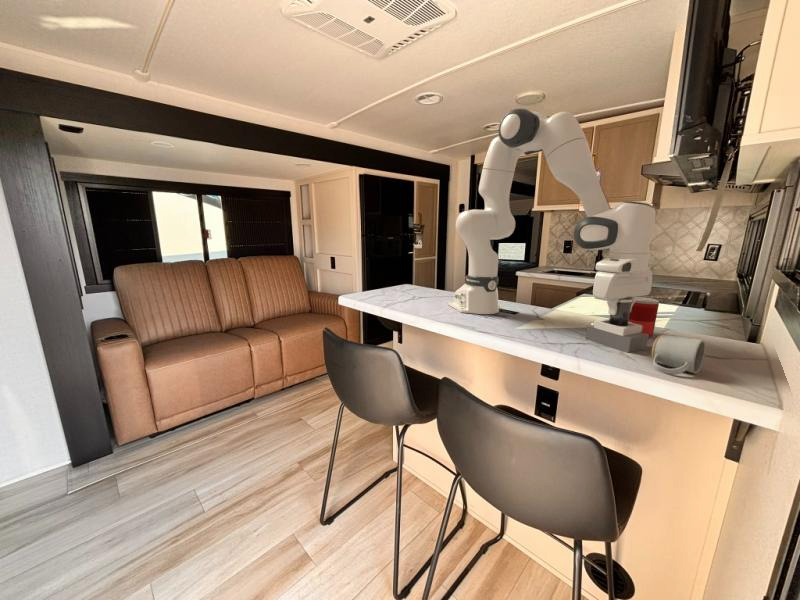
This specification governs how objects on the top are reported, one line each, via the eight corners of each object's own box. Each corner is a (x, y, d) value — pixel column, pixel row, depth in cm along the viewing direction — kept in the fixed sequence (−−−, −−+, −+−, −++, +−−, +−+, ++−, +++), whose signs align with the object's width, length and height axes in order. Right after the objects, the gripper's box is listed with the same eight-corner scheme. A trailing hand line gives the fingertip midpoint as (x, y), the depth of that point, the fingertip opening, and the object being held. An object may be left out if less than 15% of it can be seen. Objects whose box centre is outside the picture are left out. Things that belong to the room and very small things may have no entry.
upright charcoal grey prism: (604, 322, 88) (609, 295, 87) (615, 320, 90) (619, 294, 89) (621, 327, 84) (626, 298, 83) (632, 325, 86) (636, 297, 85)
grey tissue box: (585, 338, 93) (588, 319, 91) (602, 335, 96) (605, 316, 94) (628, 352, 82) (632, 330, 81) (646, 348, 85) (650, 327, 84)
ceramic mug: (658, 357, 79) (664, 328, 77) (702, 369, 72) (709, 337, 71) (642, 368, 73) (647, 337, 71) (688, 381, 66) (695, 348, 65)
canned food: (659, 337, 94) (666, 302, 92) (633, 337, 94) (639, 301, 92) (640, 329, 102) (645, 296, 99) (615, 329, 102) (621, 296, 99)
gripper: (637, 261, 91) (630, 307, 94) (591, 264, 83) (584, 314, 86) (663, 263, 85) (654, 312, 88) (616, 266, 77) (607, 319, 80)
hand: (619, 313), depth 87 cm, fingers closed on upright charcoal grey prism, 4 cm apart
